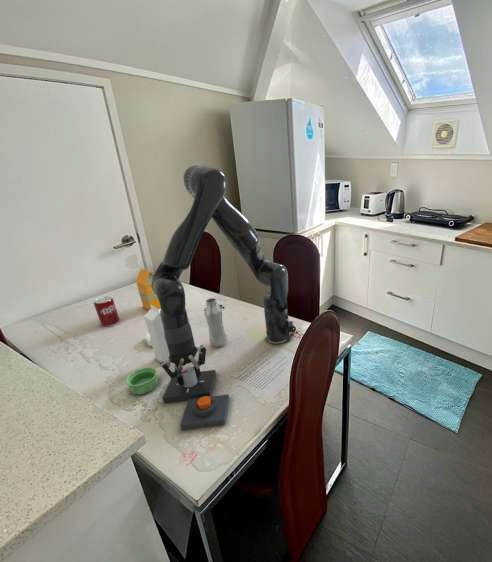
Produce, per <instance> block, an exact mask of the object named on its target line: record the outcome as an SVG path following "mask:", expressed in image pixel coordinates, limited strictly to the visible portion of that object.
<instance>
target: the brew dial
mask: <svg viewBox="0 0 492 562" xmlns="http://www.w3.org/2000/svg"><path fill="white" fill-rule="evenodd" d="M181 376H182V378H183V382H184V385H183V386H184V387H186V388H189V387H193V386H194V385H196V384H197V376H196V372H195V368H194V366H192V365H191V366H186V367H185V366H184V367H183V369H182V372H181Z"/></svg>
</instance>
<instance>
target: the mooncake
mask: <svg viewBox="0 0 492 562" xmlns="http://www.w3.org/2000/svg"><path fill="white" fill-rule="evenodd" d="M144 339H145V343H146V345H147V346H149V347H151V348H153V346H152V342H151V339H150V335H149V331H147V332H146V334H145V335H144Z"/></svg>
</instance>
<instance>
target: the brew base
mask: <svg viewBox="0 0 492 562" xmlns="http://www.w3.org/2000/svg"><path fill="white" fill-rule="evenodd" d="M200 372H201V375H200V377H199V378H197V384H196V385H194V386H193V387H189V388H186V387H184V386H181V385H179V384H178V382H177V379H176V377H174V378H173V379H172V378H170V380H169V382H168V384H167V387H166V389H165V391H164V394H163V396H162V400H163V404H164V405H166V404H175V403H183V402H184V403H185V402H188V400H189V399H194V398H201V397H204V396H213V391H214V386H215V382H216V379H217V371H216V369H211V370H200Z"/></svg>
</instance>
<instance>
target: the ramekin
mask: <svg viewBox="0 0 492 562" xmlns="http://www.w3.org/2000/svg"><path fill="white" fill-rule="evenodd" d="M158 382H159V380H158V371H157V369H156V368H155V367H148V366H147V367H142V368H139V369H137V370H134V371H133V372H131V373H130V374H129V375H128V376H127V377H126V379H125V384H126V385H127V386H128V388H129V390H130V392H131V393H132V394H134V395H144V394H147V393H150V392H151V391H153V390H154V389H155V388H156V387H157V385H158V384H159V383H158Z"/></svg>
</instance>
